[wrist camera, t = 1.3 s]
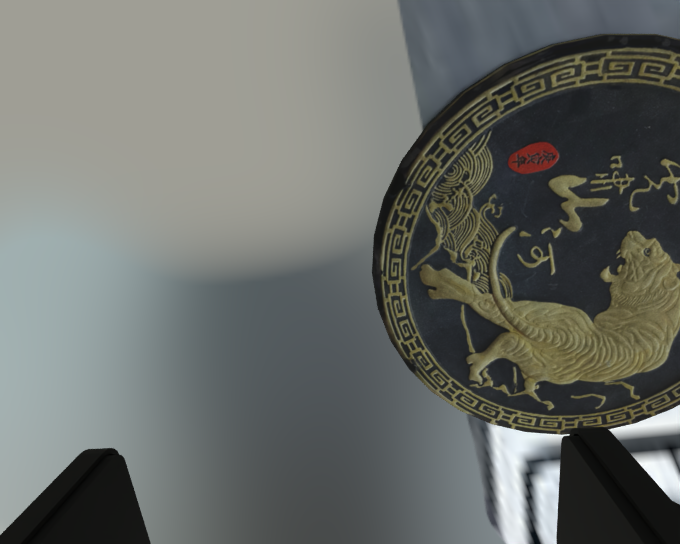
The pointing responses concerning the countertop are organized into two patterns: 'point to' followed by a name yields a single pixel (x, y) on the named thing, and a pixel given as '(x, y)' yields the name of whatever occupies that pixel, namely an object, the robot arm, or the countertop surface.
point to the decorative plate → (544, 240)
